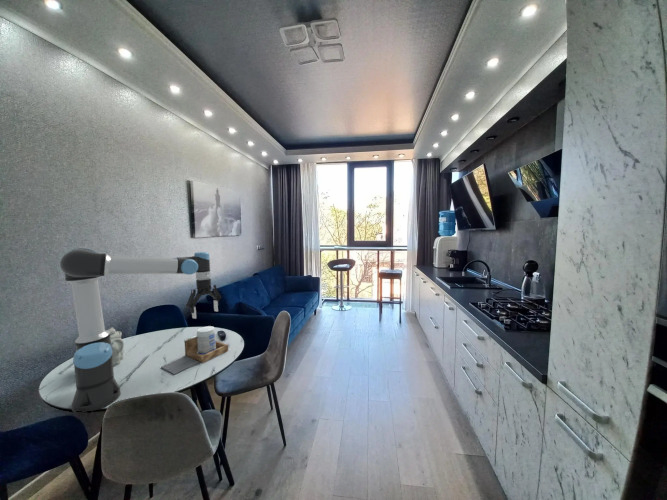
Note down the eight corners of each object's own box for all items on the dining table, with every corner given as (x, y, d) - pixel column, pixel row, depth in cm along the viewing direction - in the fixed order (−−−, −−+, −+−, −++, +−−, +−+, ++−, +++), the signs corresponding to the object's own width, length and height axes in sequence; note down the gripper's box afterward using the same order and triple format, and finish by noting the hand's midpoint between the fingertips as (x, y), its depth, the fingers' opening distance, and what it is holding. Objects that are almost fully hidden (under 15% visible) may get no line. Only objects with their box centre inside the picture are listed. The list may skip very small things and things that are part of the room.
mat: (174, 374, 126) (174, 373, 126) (161, 367, 133) (161, 366, 133) (199, 363, 138) (199, 361, 138) (185, 357, 144) (185, 356, 144)
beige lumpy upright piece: (104, 373, 128) (101, 338, 126) (81, 370, 131) (78, 335, 129) (136, 357, 144) (133, 325, 143) (114, 355, 147) (112, 324, 146)
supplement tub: (213, 356, 145) (212, 331, 144) (195, 358, 143) (194, 333, 142) (217, 348, 155) (216, 325, 153) (200, 350, 152) (199, 326, 151)
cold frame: (202, 363, 138) (201, 346, 137) (185, 355, 146) (184, 339, 145) (228, 350, 152) (227, 335, 151) (211, 344, 160) (210, 329, 159)
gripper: (185, 283, 133) (188, 322, 135) (226, 275, 154) (228, 309, 156) (177, 282, 137) (180, 320, 138) (218, 274, 158) (220, 307, 160)
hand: (205, 314), depth 147 cm, fingers open, 13 cm apart
